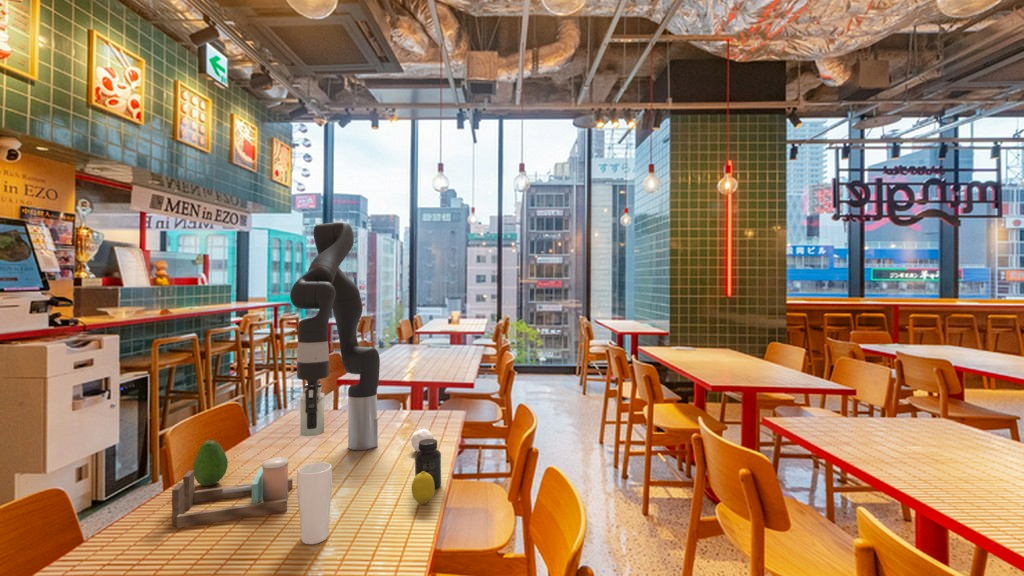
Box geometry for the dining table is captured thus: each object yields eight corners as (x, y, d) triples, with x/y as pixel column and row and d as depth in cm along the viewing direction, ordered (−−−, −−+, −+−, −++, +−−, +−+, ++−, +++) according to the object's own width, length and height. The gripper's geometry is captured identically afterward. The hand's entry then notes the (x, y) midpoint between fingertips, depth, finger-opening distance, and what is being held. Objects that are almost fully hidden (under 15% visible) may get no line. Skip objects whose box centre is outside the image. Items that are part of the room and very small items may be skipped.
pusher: (264, 492, 121) (264, 467, 121) (257, 511, 111) (257, 483, 111) (228, 497, 118) (227, 472, 118) (217, 517, 108) (217, 489, 108)
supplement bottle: (446, 483, 126) (445, 439, 126) (431, 493, 120) (431, 447, 120) (425, 479, 129) (425, 436, 129) (409, 489, 123) (409, 443, 123)
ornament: (410, 455, 148) (403, 431, 152) (422, 456, 154) (415, 433, 158) (429, 445, 147) (421, 422, 150) (440, 447, 153) (433, 424, 157)
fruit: (190, 493, 121) (190, 446, 121) (195, 482, 128) (195, 438, 128) (226, 487, 125) (226, 442, 125) (228, 476, 132) (228, 434, 132)
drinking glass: (304, 531, 102) (303, 462, 102) (336, 529, 102) (336, 461, 102) (292, 548, 95) (292, 474, 95) (326, 546, 96) (326, 473, 96)
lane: (292, 487, 125) (292, 457, 125) (286, 511, 111) (286, 477, 111) (190, 501, 117) (190, 468, 117) (170, 528, 103) (170, 492, 103)
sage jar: (324, 428, 124) (325, 391, 124) (323, 435, 118) (324, 396, 118) (300, 431, 122) (301, 393, 122) (298, 437, 116) (298, 397, 116)
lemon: (438, 501, 116) (438, 468, 116) (427, 511, 111) (427, 477, 111) (419, 497, 118) (418, 466, 118) (407, 507, 113) (407, 474, 113)
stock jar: (289, 494, 120) (289, 456, 120) (287, 503, 115) (287, 463, 115) (264, 497, 118) (264, 458, 118) (260, 507, 113) (260, 467, 113)
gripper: (327, 362, 115) (327, 431, 114) (329, 355, 128) (329, 417, 128) (293, 363, 112) (293, 434, 112) (299, 356, 126) (299, 419, 125)
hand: (312, 425), depth 120 cm, fingers closed on sage jar, 5 cm apart
